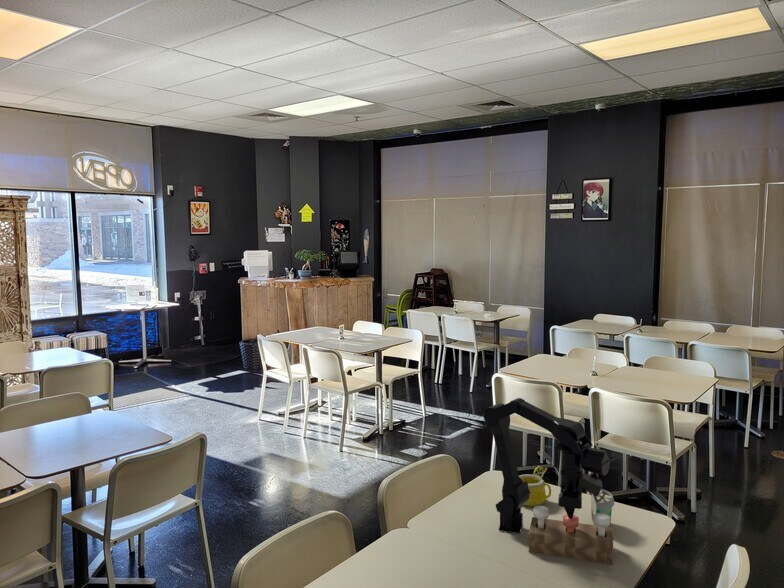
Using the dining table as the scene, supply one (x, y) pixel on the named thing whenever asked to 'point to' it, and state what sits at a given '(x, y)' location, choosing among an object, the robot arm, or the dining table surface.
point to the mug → (536, 488)
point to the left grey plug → (541, 515)
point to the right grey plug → (601, 523)
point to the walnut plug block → (571, 541)
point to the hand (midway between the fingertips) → (570, 517)
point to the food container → (602, 504)
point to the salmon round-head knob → (570, 522)
